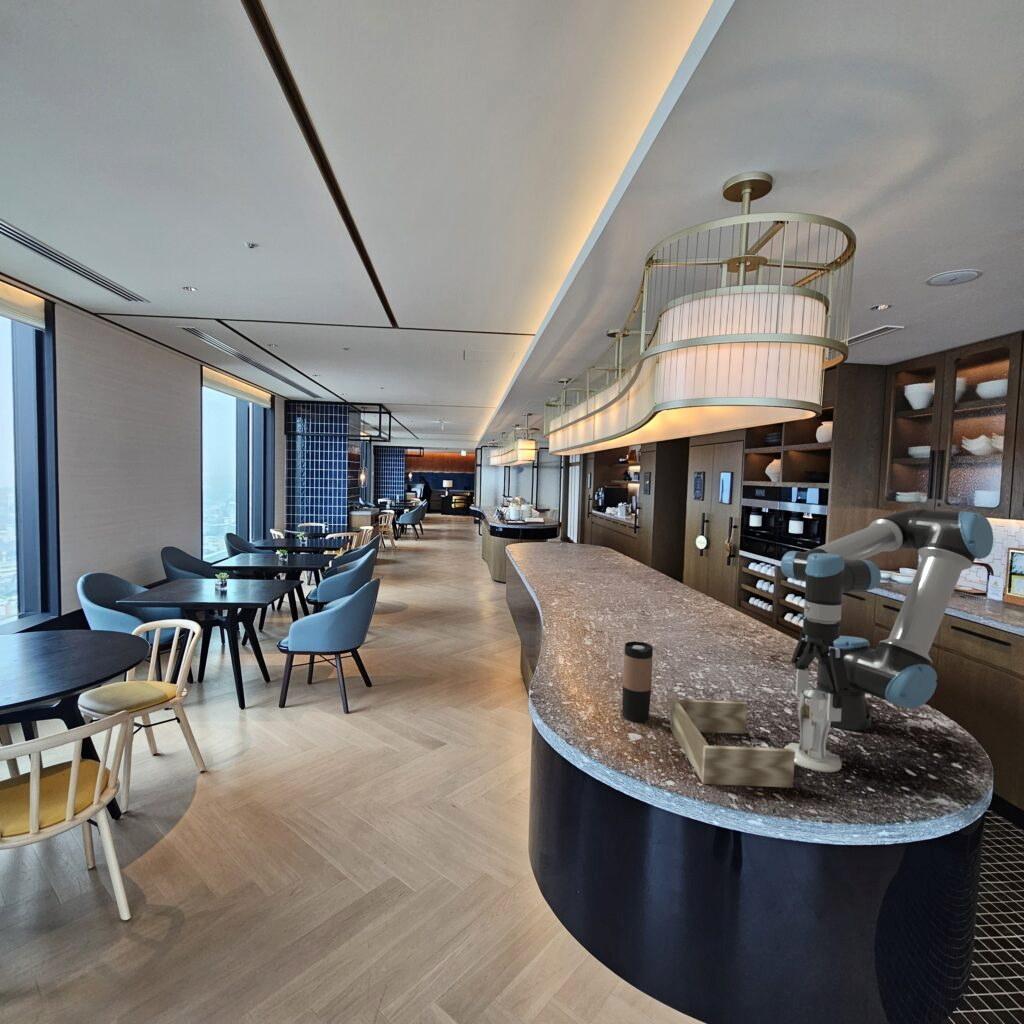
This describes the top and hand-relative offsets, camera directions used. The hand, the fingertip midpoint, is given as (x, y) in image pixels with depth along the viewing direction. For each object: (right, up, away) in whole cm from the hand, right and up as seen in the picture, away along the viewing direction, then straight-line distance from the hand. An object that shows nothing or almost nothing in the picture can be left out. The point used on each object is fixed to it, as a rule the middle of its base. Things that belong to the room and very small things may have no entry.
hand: (816, 707), depth 125 cm
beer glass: (-1, -12, +1) cm, 12 cm away
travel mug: (-38, -10, +20) cm, 45 cm away
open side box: (-21, -12, +1) cm, 24 cm away
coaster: (-1, -13, +1) cm, 13 cm away
